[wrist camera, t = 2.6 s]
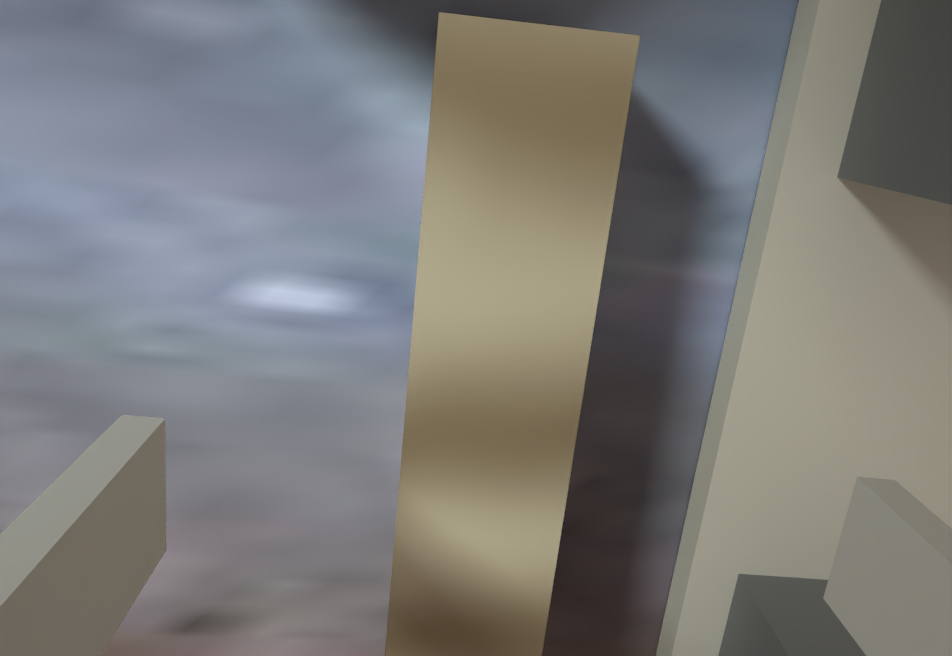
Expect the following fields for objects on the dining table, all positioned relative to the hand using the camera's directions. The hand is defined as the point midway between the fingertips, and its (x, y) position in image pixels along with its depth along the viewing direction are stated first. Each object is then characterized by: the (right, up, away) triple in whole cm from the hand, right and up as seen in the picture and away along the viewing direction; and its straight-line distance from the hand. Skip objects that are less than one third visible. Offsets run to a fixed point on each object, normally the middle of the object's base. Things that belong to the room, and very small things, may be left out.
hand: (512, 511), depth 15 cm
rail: (0, +3, +8) cm, 8 cm away
